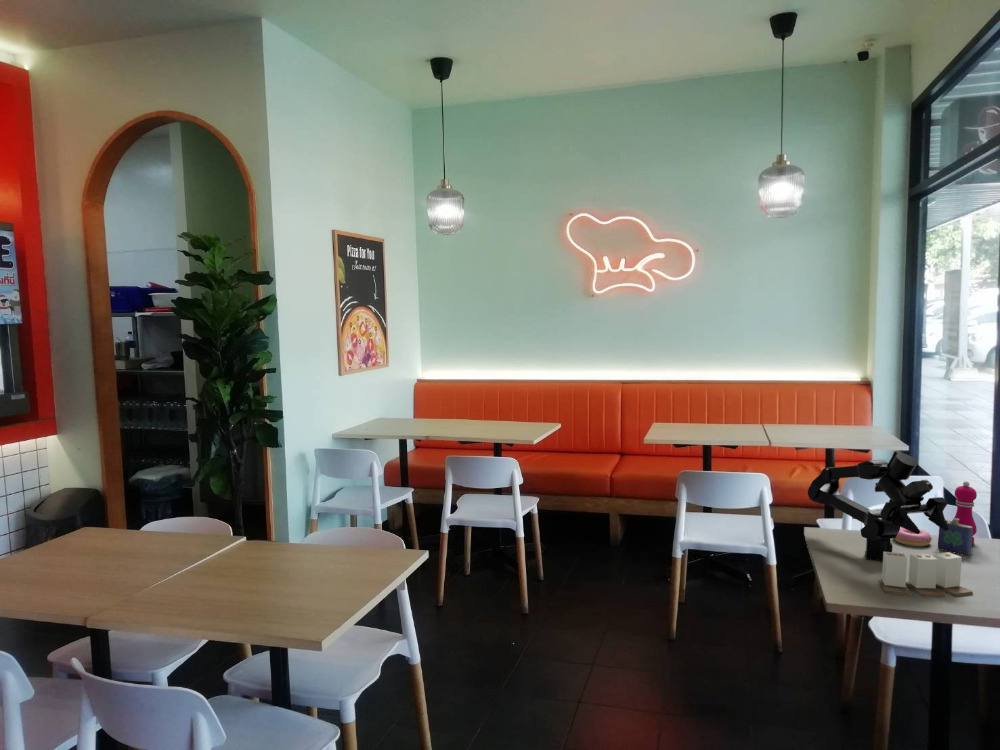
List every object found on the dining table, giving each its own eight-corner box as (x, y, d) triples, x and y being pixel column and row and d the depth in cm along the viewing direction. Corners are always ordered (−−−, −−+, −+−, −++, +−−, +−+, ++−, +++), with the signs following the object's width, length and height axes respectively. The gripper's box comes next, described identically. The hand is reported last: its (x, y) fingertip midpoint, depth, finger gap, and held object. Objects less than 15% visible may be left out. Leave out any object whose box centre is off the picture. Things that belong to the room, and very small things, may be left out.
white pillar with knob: (932, 582, 194) (934, 553, 193) (946, 580, 195) (948, 551, 195) (945, 587, 190) (946, 558, 190) (959, 585, 192) (961, 556, 191)
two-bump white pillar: (908, 582, 194) (910, 553, 193) (927, 582, 194) (928, 553, 193) (916, 588, 190) (918, 558, 189) (935, 588, 190) (937, 558, 189)
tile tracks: (881, 592, 190) (881, 589, 189) (877, 572, 204) (877, 570, 203) (979, 607, 180) (979, 604, 180) (968, 585, 194) (968, 582, 194)
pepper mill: (944, 539, 232) (947, 479, 230) (958, 537, 235) (962, 477, 233) (966, 546, 226) (970, 485, 224) (980, 543, 229) (985, 482, 227)
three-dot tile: (881, 579, 196) (883, 550, 195) (902, 581, 194) (904, 552, 194) (884, 585, 192) (886, 555, 191) (905, 587, 191) (907, 557, 190)
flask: (972, 554, 219) (974, 520, 218) (968, 556, 217) (970, 522, 216) (939, 546, 226) (941, 513, 225) (935, 548, 224) (937, 515, 223)
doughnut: (892, 535, 238) (893, 522, 238) (931, 540, 232) (931, 528, 232) (891, 544, 229) (892, 531, 228) (931, 550, 223) (932, 537, 223)
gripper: (880, 473, 202) (916, 513, 189) (936, 468, 205) (975, 507, 193) (865, 501, 208) (899, 542, 196) (920, 496, 212) (957, 536, 199)
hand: (933, 531), depth 196 cm, fingers open, 9 cm apart
